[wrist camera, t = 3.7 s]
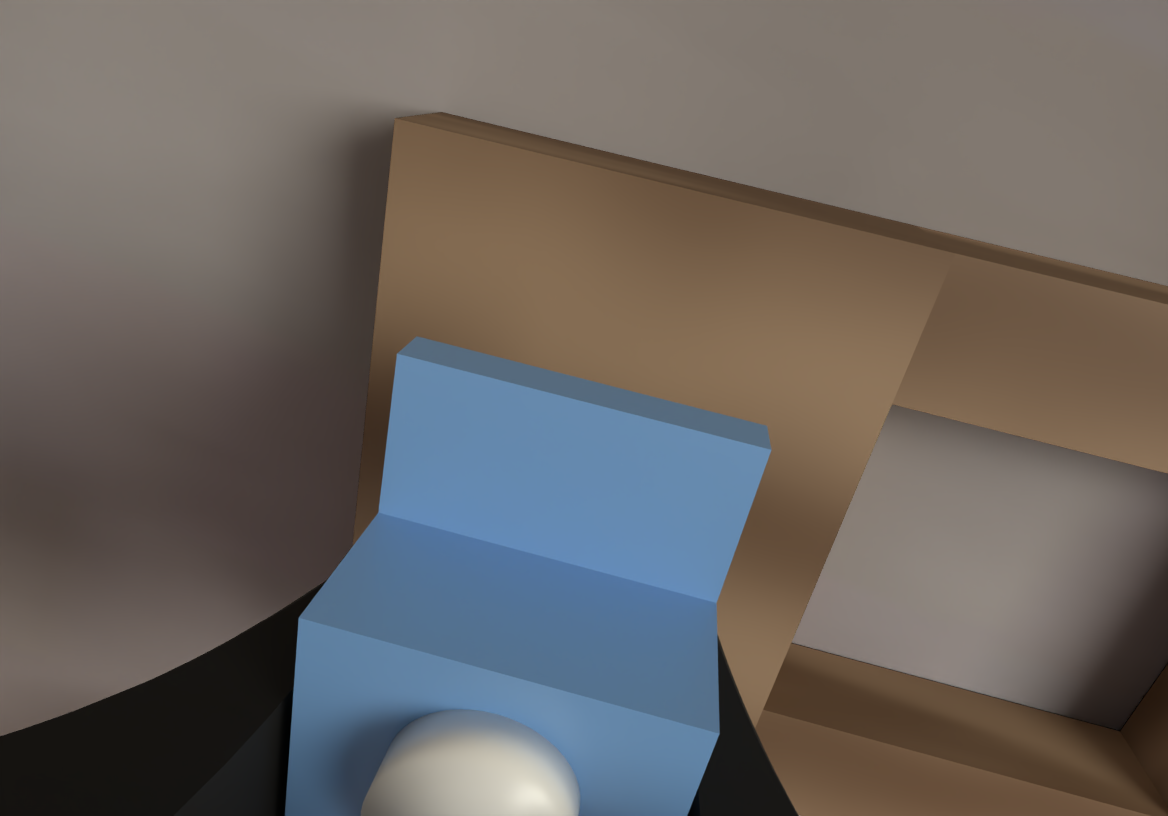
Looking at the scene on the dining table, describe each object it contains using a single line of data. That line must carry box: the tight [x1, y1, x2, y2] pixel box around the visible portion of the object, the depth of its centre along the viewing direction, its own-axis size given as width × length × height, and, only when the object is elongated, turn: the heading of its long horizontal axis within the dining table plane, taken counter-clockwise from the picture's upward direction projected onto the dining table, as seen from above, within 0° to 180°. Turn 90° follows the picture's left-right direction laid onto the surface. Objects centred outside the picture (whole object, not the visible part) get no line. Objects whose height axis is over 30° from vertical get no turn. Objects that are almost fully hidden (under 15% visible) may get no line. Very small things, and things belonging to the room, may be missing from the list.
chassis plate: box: [352, 112, 1168, 816], centre depth 16 cm, size 13×20×2 cm, turn 78°
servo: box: [285, 336, 771, 816], centre depth 10 cm, size 10×4×6 cm, turn 168°
